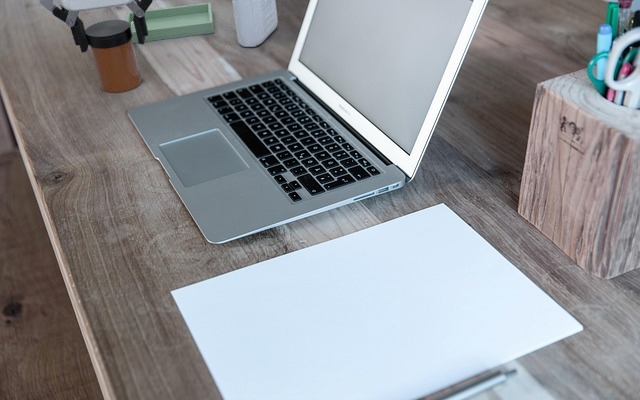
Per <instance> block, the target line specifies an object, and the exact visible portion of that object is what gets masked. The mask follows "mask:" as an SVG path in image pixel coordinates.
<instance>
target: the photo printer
mask: <svg viewBox="0 0 640 400" xmlns="http://www.w3.org/2000/svg"><path fill="white" fill-rule="evenodd" d="M231 2H232V3H231V4H232V9H233V15H234V16H233V18H234V23H235V30H236V37H237V43H238V44H239V45H240V46H242V47H244V48H254V47H257V46H259V45H260V44H263V42H265V40H266V39H267V38H268V37H269V36H270V35H271V34H272V33H273V32H274V31H275V30H276V29H277V27H278V25H279V24H278V21H279V19H278V11H277V1H276V0H231Z"/></svg>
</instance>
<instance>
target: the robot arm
mask: <svg viewBox="0 0 640 400" xmlns="http://www.w3.org/2000/svg"><path fill="white" fill-rule="evenodd" d="M153 1H154V0H60V2H61V4H62V5H61V4H58V3H57V1H56V0H39V3H40V5H42V6H43V7H44V8H45V9H46V10H48V11H49V12H50V13H52V15H53V16H54V17H56V18H57V19H59V20H60V21H61V22H64V23H65V24H66V26H67V27H68V28H70V31H71V34H72V38H73V41H74V45H75V46H79V48H80V52H81V53H82V54H83V53H86V52H87V51H88V49H89V46H90V45H89V44H88V42H87V39H86V35H85V30H86V29H85V25H84V22H83V20H82V19H81V18H80V17H79V13H80V12H85V11H92V10H93V11H94V10H101V9H107V8H108V9H109V8H114V7H121V6H126V7H127V8H128V9H129V10H130V12H133V13H134V17H133V22H134V26H135V30H136V34H137V38H138V44H139V45H145V36H148V29H147V25H146V20H145V16H144V13H145V12H146V10H149V8H150V6H151V4H152V3H153Z"/></svg>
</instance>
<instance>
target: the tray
mask: <svg viewBox="0 0 640 400" xmlns="http://www.w3.org/2000/svg"><path fill="white" fill-rule="evenodd" d="M144 16H145V20H146V25H147V29H148V36H145V42H152V41H161V40H168V39H177V38H185V37H194V36H201V35H208V34H215V23H214V11H213V6H212V2H203V3H196V4H187V5H178V6H169V7H163V8H162V7H161V8H154V9H147V10H146V12H145V13H144ZM133 17H134V13H133V12H132V11H128V12H126V15H125V20H124V21H127V22H129V23H130V27H131V26H132V25H133V24H134V23H133V24H132V25H131V22H132V21H133ZM131 31H132V42H133V44H137V43H138V44H139V42H138V38H137V34H136V30H135V26H134V25H133V26H132V27H131ZM145 42H144V43H145Z"/></svg>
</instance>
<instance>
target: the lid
mask: <svg viewBox="0 0 640 400" xmlns="http://www.w3.org/2000/svg"><path fill="white" fill-rule="evenodd" d="M85 35H86V39H87V42H88V44H89V45H88V46H89V47H90V46H92V47H96V48H108V47H114V46H118V45H121V44H123V43H126V42H127V41H129V40H130V39H131V38H132V31H131V27H130V23H129V22H127V21H125V20H124V19H107V20H103V21H99V22H96V23H93V24H91V25H89V26H88V27H86V29H85Z"/></svg>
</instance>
